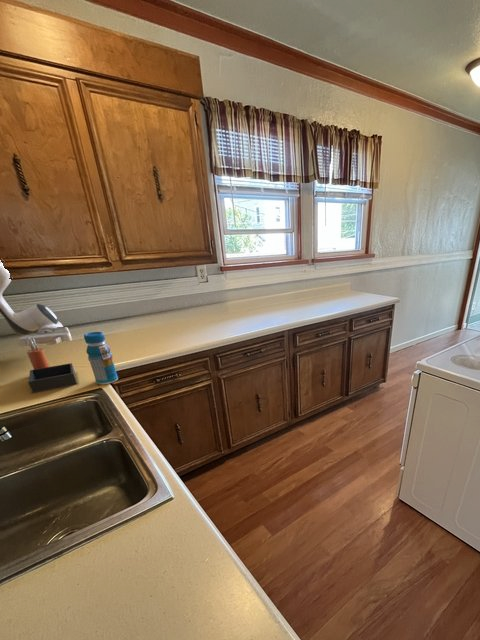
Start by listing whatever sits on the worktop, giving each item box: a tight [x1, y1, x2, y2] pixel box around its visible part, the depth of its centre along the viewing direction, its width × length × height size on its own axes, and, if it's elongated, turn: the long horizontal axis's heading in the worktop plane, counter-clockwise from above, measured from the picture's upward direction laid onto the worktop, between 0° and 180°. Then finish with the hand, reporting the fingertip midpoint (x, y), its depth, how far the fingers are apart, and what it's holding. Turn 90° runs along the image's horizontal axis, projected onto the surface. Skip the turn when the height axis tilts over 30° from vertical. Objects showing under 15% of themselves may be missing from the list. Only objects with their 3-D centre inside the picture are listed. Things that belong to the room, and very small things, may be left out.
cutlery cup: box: [26, 337, 51, 370], centre depth 138 cm, size 6×6×17 cm
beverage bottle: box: [83, 331, 119, 385], centre depth 131 cm, size 8×8×20 cm
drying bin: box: [27, 362, 78, 393], centre depth 133 cm, size 15×15×5 cm
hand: (42, 343), depth 147 cm, fingers open, 8 cm apart
